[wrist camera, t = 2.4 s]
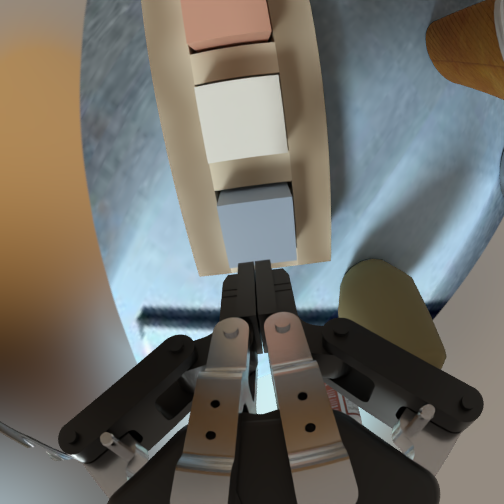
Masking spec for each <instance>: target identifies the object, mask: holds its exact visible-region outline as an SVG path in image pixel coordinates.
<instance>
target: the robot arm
mask: <svg viewBox="0 0 504 504" xmlns="http://www.w3.org/2000/svg"><path fill="white" fill-rule="evenodd" d="M500 186H501V191H502V194H503V196H504V152H503V156H502V160H501V166H500ZM262 342H263V348H264V353H268V357H269V363H270V370H271V375H272V381H273V386H274V391H275V397H276V403H277V408H278V410H275V411H272V412H269V413H265V414H257V413H256V394H257V375H258V368H257V365H258V357H257V354H262V353H263V349H262ZM324 383H326V384H327V385H328V386H330V387H331V388H333V389H334V390H335V391H337V392H338V393H340V394H341V395H343V396H344V397H346V398H347V399H348V400H350V401H351V402H353V403H354V404H356V405H357V406H359V407H360V408H362V409H363V410H365V411H366V412H368V413H369V414H371V415H373V416H374V417H375V418H377V419H379V420H380V421H382V422H383V423H385V424H387V425H388V426H389V427H391V428H393V429H392V440H393V442H394V443H395V445H396V446H398V448H400V450H401V451H402V453H401V452H400V451H398V450H397V449H395V448H394V447H393V446H391V445H390V444H388V443H387V442H385V441H384V440H383V439H381V438H380V437H378V436H377V435H375V434H374V433H373V432H371V431H370V430H369V429H367V428H366V427H364V426H363V425H362V424H360V423H359V422H358V421H356V420H355V419H354V418H352V417H351V416H349V415H347V414H345V413H343V412H340V411H338V410H334V409H332V407H331V404H330V401H329V397H328V394H327V391H326V388H325V385H324ZM483 405H484V404H483V398H482V396H481V394H480V393H479V391H478V390H476V389H475V388H473V387H471V386H469V385H468V384H466V383H464V382H462V381H460V380H458V379H457V378H455V377H453V376H451V375H449V374H448V373H446V372H444V371H442V370H440V369H438V368H437V367H435V366H433V365H431V364H429V363H428V362H426V361H424V360H422V359H420V358H418V357H417V356H415V355H413V354H411V353H409V352H408V351H406V350H404V349H402V348H400V347H399V346H397V345H395V344H393V343H391V342H390V341H388V340H386V339H384V338H382V337H381V336H379V335H377V334H375V333H374V332H372V331H370V330H368V329H366V328H365V327H363V326H361V325H359V324H358V323H356V322H354V321H352V320H350V319H347V318H334V319H331V320H330V321H328V322H327V323H326V324H325V325H324V326H317V325H311V324H308V323H306V322H304V321H302V320H301V319H300V318H299V316H298V314H297V310H296V305H295V301H294V296H293V291H292V287H291V282H290V278H289V274H288V273H287V272H286V271H285V270H284V269H283V268H282V269H275V270H272V268H271V261H270V259H268V260H260V261H255V266H254V261H252V262H244V263H238V274H234V275H228V276H227V277H226V279H225V280H224V282H223V288H222V299H221V310H220V322H219V323H218V324H217V325H216V326H215V327H214V330H213V333H212V334H210V335H208V336H206V337H204V338H201V339H198V340H195V341H193V340H192V339H191V338H190V337H188V336H186V335H175V336H172V337H170V338H168V339H166V340H165V341H164V342H163V343H162V344H160V345H159V346H158V347H157V348H156V349H155V350H153V351H152V352H151V353H150V354H149V355H148V356H146V357H145V358H144V359H143V360H142V361H141V362H139V363H138V364H137V365H136V366H135V367H133V368H132V369H131V370H130V371H129V372H128V373H126V374H125V375H124V376H123V377H122V378H121V379H119V380H118V381H117V382H116V383H115V384H114V385H112V386H111V387H110V388H109V389H108V390H106V391H105V392H104V393H103V394H102V395H100V396H99V397H98V398H97V399H96V400H94V401H93V402H92V403H91V404H90V405H88V406H87V407H86V408H85V409H84V410H82V411H81V412H80V413H79V414H78V415H77V416H75V417H74V418H73V419H72V420H70V421H69V422H68V423H67V424H66V425H64V427H62V429H61V430H60V433H59V437H58V442H59V446H60V448H61V449H62V450H63V451H64V452H65V453H66V454H68V455H70V456H71V457H73V458H75V459H76V460H77V461H78V462H80V463H82V464H83V465H84V466H85V468H86V469H87V470H88V472H89V473H90V475H91V476H92V477H93V479H94V480H95V481H96V483H97V484H98V485H99V486H100V488H101V489H102V490H103V491H104V493H105V494H106V495H107V496H108V498H109V501H108V503H107V504H439V501H440V488H439V484H438V481H437V479H436V478H435V476H436V474H437V472H438V471H439V469H440V468H441V466H442V465H443V463H444V461H445V460H446V458H447V457H448V455H449V453H450V451H451V450H452V448H453V446H454V444H455V443H456V441H457V439H458V437H459V435H460V434H461V433H462V432H463V431H464V430H465V429H466V428H467V427H468V426H470V425H471V424H472V423H473V422H474V421H475V420H476V419H477V418H478V417H479V416H480V414H481V412H482V410H483ZM190 411H191V412H190ZM189 412H190V417H189V423H188V425H186V426H184V427H183V428H182V429H180V430H179V431H178V432H177V433H176V434H175V435H174V436H173V437H172V438H171V439H170V440H169V441H168V442H167V443H166V444H165V445H164V446H163V447H162V448H161V449H160V450H159V451H158V452H157V453H156V454H155V455H154V456H153V457H152V458H151V459H150V460H149V461H148V459H149V457H148V456H149V455H148V451H149V450H150V449H151V448H152V447H153V446H154V445H155V444H157V443H158V442H159V441H160V440H161V439H162V438H163V437H164V436H165V435H166V434H167V433H168V432H169V431H170V430H172V429H173V428H174V427H175V426H176V425H177V424H178V423H179V422H180V421H181V420H182V419H183V418H184V417H185V416H186V415H187V414H188V413H189Z"/></svg>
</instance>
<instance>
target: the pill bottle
mask: <svg viewBox="0 0 504 504" xmlns="http://www.w3.org/2000/svg"><path fill="white" fill-rule="evenodd" d="M324 385H325V388H326V391H327V394H328V397H329V401H330V404H331V407H332V409H334V410H338V411H340V412H343V413H345V414H347V415H349V416H351V417H352V418H354V419H355V420H356V421H358V422H359V423H360V424H362V421H361V416H360V413H359V409H358V406H357V405H356V404H354V403H353V402H351V401H350V400H348V399H347V398H346V397H344V396H343V395H341V394H340V393H338V392H337V391H335V390H334V389H333V388H331V387H330V386H328V385H327V384H326V383H324Z"/></svg>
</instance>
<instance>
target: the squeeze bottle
mask: <svg viewBox="0 0 504 504" xmlns="http://www.w3.org/2000/svg"><path fill="white" fill-rule="evenodd" d="M338 315H339V318H347V319H350V320H352V321H354V322H356V323H358V324H359V325H361V326H363V327H365V328H366V329H368V330H370V331H372V332H374V333H375V334H377V335H379V336H381V337H382V338H384V339H386V340H388V341H390V342H391V343H393V344H395V345H397V346H399V347H400V348H402V349H404V350H406V351H408V352H409V353H411V354H413V355H415V356H417V357H418V358H420V359H422V360H424V361H426V362H428V363H429V364H431V365H433V366H435V367H437V368H438V369H440V370H441V368H442V366H443V364H444V361H445V359H446V352H445V349H444V346H443V344H442V342H441V339H440V337H439V334H438V332H437V329H436V327H435V325H434V323H433V320H432V318H431V316H430V314H429V312H428V309H427V307H426V305H425V303H424V301H423V299H422V297H421V295H420V293H419V291H418V289H417V287H416V285H415V283H414V281H413V279H412V277H410V276H409V275H407V274H406V273H404V272H403V271H401V270H399V269H398V268H396V267H394V266H392V265H391V264H389V263H387V262H385V261H383V260H381V259H369V260H365V261H361V262H360V263H358V264H356V265H355V266H353V267H352V268H351V269H350V270H349V271H348V272H347V273H346V274H345V276H344V277H343V280H342V283H341V286H340V296H339V307H338Z"/></svg>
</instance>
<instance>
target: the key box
mask: <svg viewBox="0 0 504 504" xmlns="http://www.w3.org/2000/svg"><path fill="white" fill-rule="evenodd" d="M141 3H142V11H143V20H144V27H145V35H146V42H147V49H148V55H149V61H150V68H151V74H152V79H153V85H154V91H155V96H156V101H157V107H158V112H159V117H160V122H161V127H162V131H163V136H164V141H165V145H166V150H167V154H168V159H169V163H170V167H171V172H172V176H173V180H174V184H175V188H176V192H177V196H178V200H179V204H180V208H181V212H182V216H183V220H184V223H185V227H186V231H187V234H188V238H189V242H190V245H191V249H192V252H193V256H194V259H195V263H196V266H197V270H198V273H199V276H209V275H218V274H227V273H236V272H238V267H237V268H230V267H229V263H228V258H227V253H226V249H225V244H224V239H223V235H222V230H221V225H220V220H219V216H218V211H217V203H218V199H219V196H220V192H221V190H224V189H231V188H238V187H246V186H253V185H261V184H269V183H277V182H287V185H288V187H289V190H290V192H291V195H292V200H293V212H294V225H295V239H296V254H297V260H295V261H287V262H278V263H271V268H278V267H286V266H294V265H302V264H310V263H318V262H326V261H331V195H330V168H329V150H328V135H327V123H326V111H325V101H324V92H323V83H322V75H321V67H320V60H319V53H318V46H317V40H316V34H315V28H314V22H313V17H312V12H311V6H310V1H309V0H266V3H267V8H268V14H269V19H270V25H271V34H270V37H269V39H268V43H260V44H251V45H243V46H235V47H229V48H223V49H217V50H211V51H206V52H201V53H198V52H196V51H195V50H194V49H192V48H191V47H190V46H189V45H187V42H186V35H185V29H184V22H183V16H182V9H181V2H180V0H141ZM271 75H278V76H279V83H280V90H281V98H282V106H283V114H284V122H285V130H286V139H287V148H288V153H282V154H273V155H264V156H256V157H249V158H242V159H235V160H228V161H222V162H216V163H210V164H208V161H207V156H206V150H205V145H204V140H203V135H202V129H201V124H200V118H199V113H198V107H197V102H196V96H195V90H194V87H198V86H203V85H208V84H213V83H219V82H225V81H231V80H238V79H245V78H252V77H261V76H271ZM254 266H255V265H254Z"/></svg>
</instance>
